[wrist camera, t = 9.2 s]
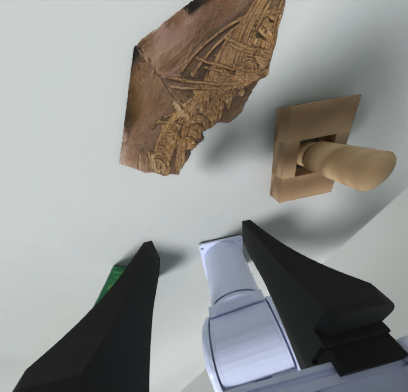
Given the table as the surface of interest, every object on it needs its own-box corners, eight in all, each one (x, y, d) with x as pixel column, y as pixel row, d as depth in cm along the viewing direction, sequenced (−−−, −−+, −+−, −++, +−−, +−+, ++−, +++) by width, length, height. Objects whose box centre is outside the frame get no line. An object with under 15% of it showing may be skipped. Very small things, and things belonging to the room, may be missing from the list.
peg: (308, 162, 21) (383, 188, 14) (285, 166, 21) (348, 194, 13) (315, 136, 20) (404, 148, 12) (290, 140, 19) (364, 154, 12)
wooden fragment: (159, 192, 21) (158, 195, 20) (79, 131, 16) (72, 131, 15) (324, 27, 15) (333, 20, 14) (273, -146, 10) (283, -172, 9)
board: (317, 185, 24) (331, 191, 21) (270, 194, 23) (279, 202, 21) (339, 97, 18) (361, 94, 16) (277, 108, 17) (291, 106, 15)
